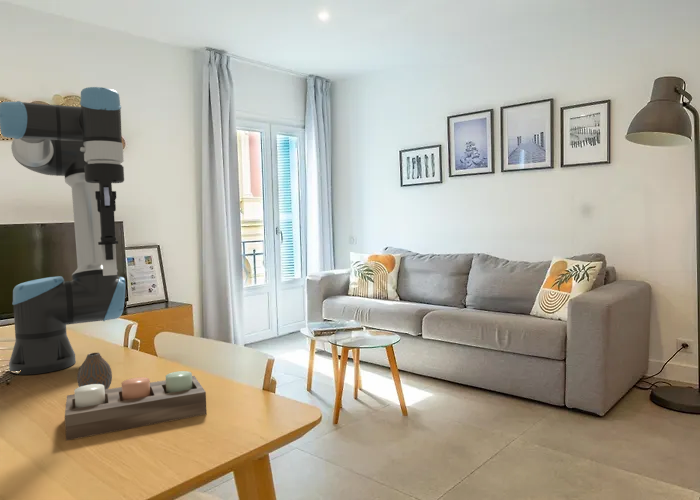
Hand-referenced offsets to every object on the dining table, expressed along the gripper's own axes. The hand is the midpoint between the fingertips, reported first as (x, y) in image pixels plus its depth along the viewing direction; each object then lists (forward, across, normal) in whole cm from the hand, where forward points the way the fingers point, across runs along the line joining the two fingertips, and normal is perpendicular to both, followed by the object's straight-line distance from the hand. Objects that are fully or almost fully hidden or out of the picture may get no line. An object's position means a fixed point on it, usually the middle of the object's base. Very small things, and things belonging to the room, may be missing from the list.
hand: (110, 274), depth 112 cm
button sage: (+24, +15, +11) cm, 30 cm away
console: (+26, +15, +3) cm, 31 cm away
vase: (+27, -5, -4) cm, 27 cm away
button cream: (+24, +15, -5) cm, 28 cm away
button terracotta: (+24, +15, +3) cm, 28 cm away
